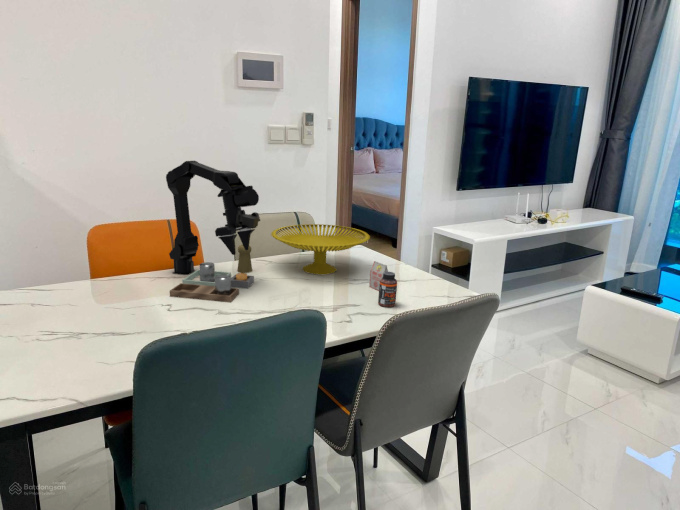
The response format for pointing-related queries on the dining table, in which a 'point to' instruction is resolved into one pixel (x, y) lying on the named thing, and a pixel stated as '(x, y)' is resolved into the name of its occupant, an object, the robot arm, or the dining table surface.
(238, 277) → the button
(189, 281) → the sage tote
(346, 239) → the yellow pedestal fruit bowl
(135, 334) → the dining table surface
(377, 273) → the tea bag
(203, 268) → the cylinder
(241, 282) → the button housing
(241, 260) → the cork
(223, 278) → the seated steel billet
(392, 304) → the supplement bottle
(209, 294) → the walnut pallet
